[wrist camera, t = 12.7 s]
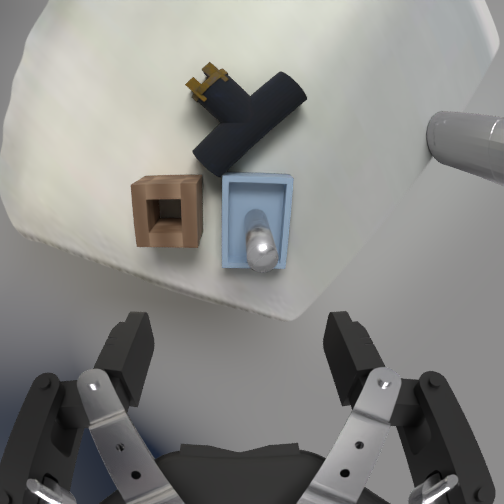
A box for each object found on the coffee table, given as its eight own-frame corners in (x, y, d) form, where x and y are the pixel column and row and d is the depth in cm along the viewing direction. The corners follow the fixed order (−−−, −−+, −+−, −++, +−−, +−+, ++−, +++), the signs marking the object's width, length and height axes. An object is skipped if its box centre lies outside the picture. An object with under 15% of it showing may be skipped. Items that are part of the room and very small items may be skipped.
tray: (289, 174, 38) (293, 178, 35) (282, 259, 44) (285, 268, 41) (223, 171, 38) (222, 175, 35) (223, 258, 43) (222, 267, 40)
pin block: (202, 174, 38) (196, 183, 32) (203, 230, 41) (197, 247, 36) (145, 175, 37) (130, 184, 32) (149, 230, 40) (136, 246, 35)
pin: (267, 209, 39) (279, 244, 28) (266, 231, 40) (277, 272, 30) (244, 208, 39) (247, 243, 28) (243, 230, 40) (246, 272, 29)
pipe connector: (151, 117, 29) (244, 32, 25) (162, 117, 34) (242, 43, 30) (219, 181, 33) (311, 98, 29) (221, 173, 38) (301, 101, 34)
